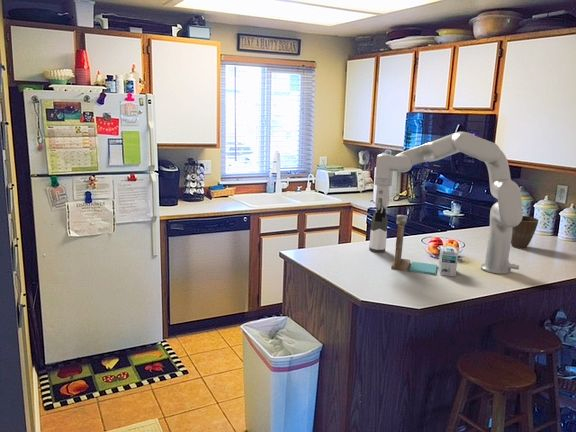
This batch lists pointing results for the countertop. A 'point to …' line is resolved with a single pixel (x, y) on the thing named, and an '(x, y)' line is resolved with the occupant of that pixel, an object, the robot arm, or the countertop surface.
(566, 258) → the countertop surface
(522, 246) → the plant pot
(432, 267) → the mat
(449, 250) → the light bulb box
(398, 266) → the wooden stand
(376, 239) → the wine bottle
